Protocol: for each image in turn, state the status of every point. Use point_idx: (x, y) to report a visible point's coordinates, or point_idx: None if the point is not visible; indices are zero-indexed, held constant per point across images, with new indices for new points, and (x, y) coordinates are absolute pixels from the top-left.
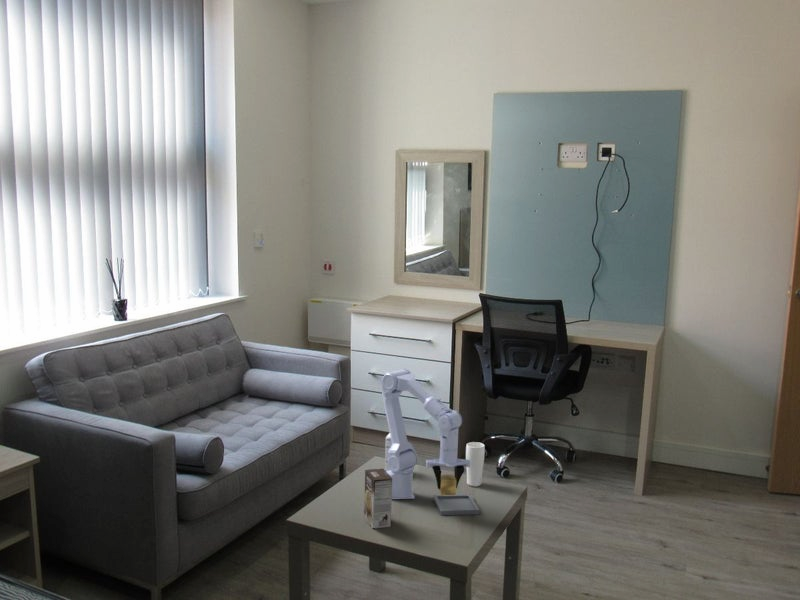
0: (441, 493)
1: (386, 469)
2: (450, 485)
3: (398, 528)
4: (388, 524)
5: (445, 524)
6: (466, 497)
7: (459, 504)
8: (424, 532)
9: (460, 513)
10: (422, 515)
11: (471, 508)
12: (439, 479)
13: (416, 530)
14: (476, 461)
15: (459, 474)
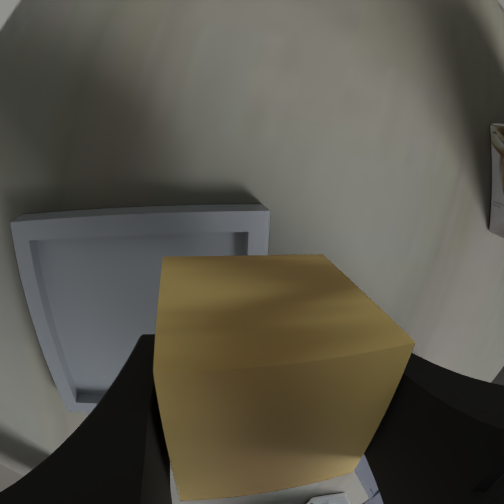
0: (322, 262)
1: (347, 502)
2: (248, 314)
3: (473, 97)
4: (501, 124)
5: (266, 71)
6: (85, 395)
7: (123, 329)
8: (393, 19)
9: (131, 209)
10: (363, 211)
11: (56, 273)
12: (417, 371)
13: (421, 51)
14: None
15: (84, 479)
